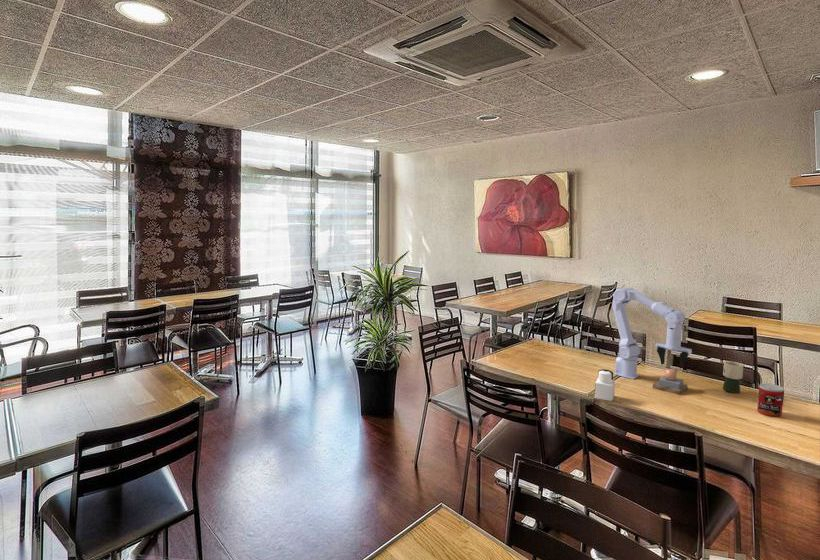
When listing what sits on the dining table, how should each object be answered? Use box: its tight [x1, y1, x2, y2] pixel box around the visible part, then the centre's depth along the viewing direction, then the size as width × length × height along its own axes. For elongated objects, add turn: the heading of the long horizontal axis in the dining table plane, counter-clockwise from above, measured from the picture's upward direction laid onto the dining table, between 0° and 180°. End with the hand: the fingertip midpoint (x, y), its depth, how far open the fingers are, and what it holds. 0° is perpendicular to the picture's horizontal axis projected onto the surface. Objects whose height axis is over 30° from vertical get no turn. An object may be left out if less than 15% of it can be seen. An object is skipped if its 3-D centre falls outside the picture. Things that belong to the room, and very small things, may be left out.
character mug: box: [722, 360, 744, 393], centre depth 197 cm, size 11×7×13 cm, turn 129°
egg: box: [664, 368, 678, 381], centre depth 201 cm, size 4×4×4 cm
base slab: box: [652, 380, 689, 396], centre depth 202 cm, size 11×11×2 cm
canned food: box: [756, 383, 785, 418], centre depth 174 cm, size 8×8×11 cm
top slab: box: [658, 375, 684, 389], centre depth 201 cm, size 8×8×2 cm
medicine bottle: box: [594, 368, 616, 402], centre depth 192 cm, size 7×7×12 cm
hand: (671, 365), depth 202 cm, fingers open, 7 cm apart
